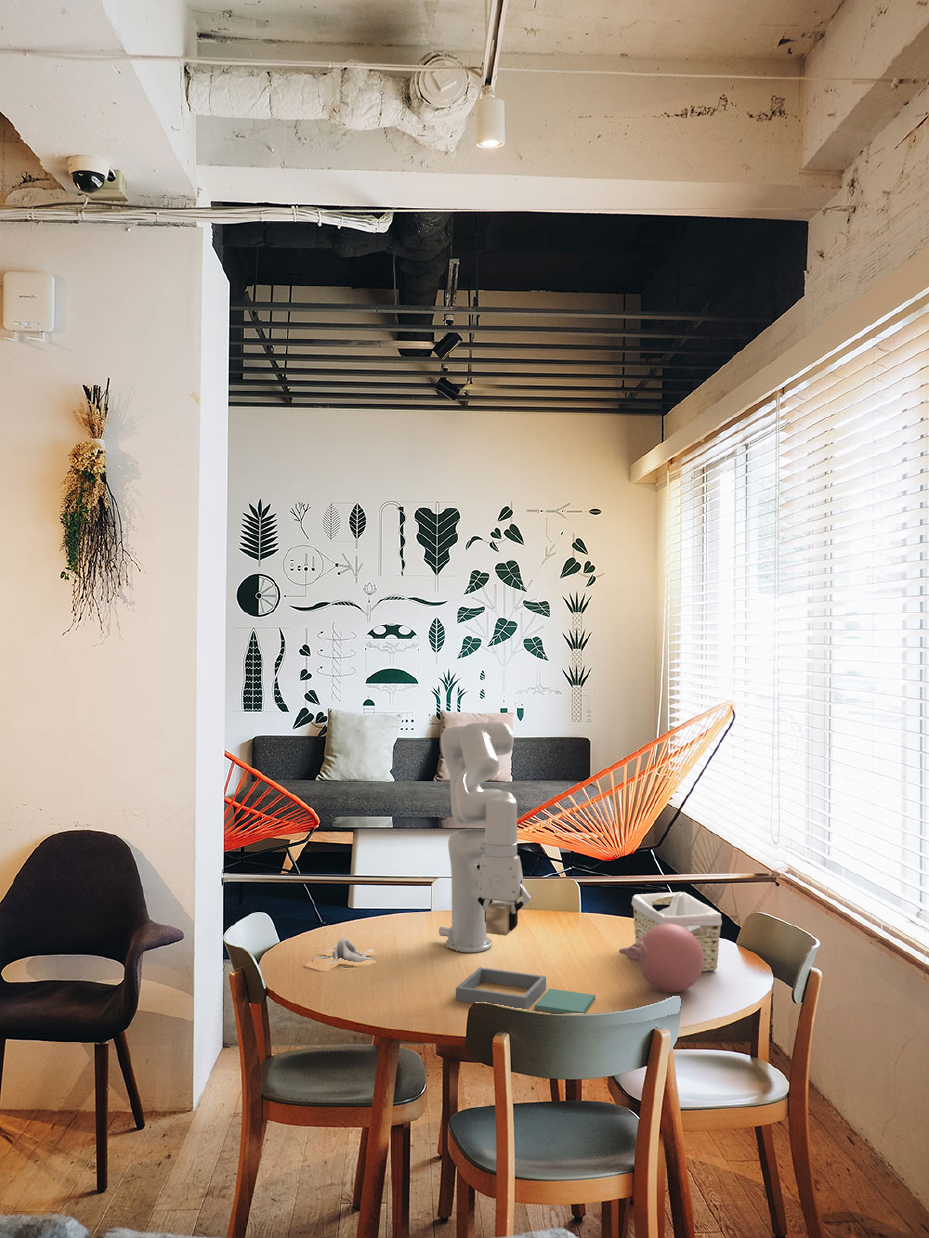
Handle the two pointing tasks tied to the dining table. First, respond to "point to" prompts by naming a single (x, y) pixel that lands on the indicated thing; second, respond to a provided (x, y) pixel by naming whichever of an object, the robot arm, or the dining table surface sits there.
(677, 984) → the pink balloon
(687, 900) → the storage basket
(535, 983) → the bin
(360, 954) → the cloth
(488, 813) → the robot arm
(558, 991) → the mat
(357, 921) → the dining table surface
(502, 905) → the label box
